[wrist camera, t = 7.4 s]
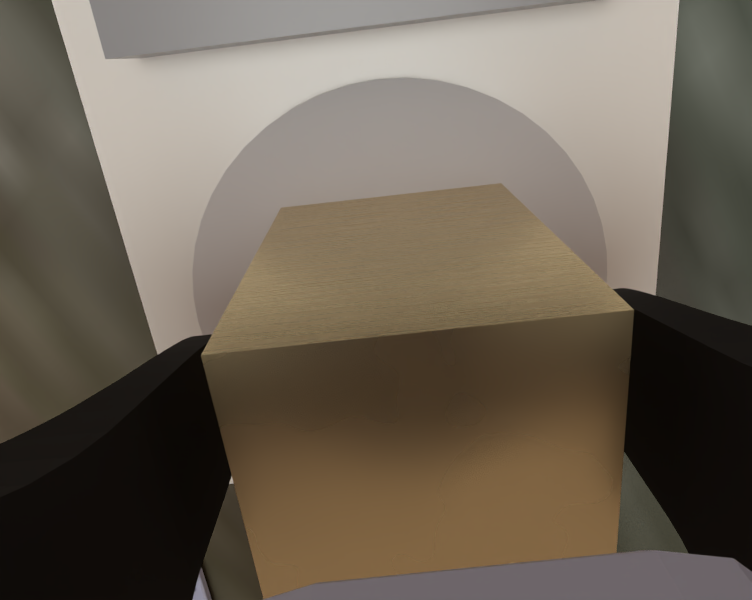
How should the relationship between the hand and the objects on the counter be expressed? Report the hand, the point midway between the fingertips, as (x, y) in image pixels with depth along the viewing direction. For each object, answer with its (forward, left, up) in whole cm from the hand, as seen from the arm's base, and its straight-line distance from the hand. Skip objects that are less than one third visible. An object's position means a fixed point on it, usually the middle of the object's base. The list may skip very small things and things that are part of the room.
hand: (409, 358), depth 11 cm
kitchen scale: (+2, 0, -6) cm, 6 cm away
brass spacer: (0, 0, -3) cm, 3 cm away
